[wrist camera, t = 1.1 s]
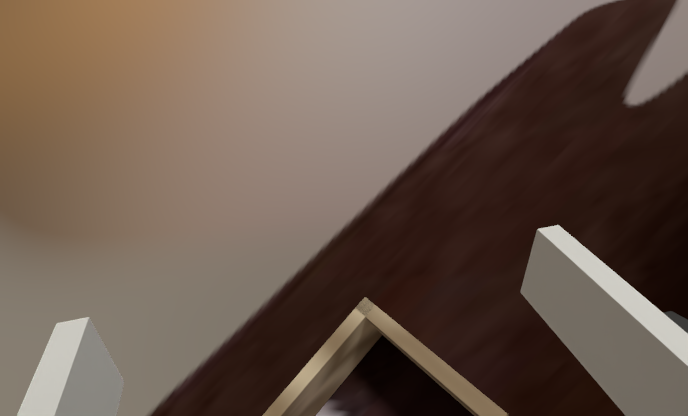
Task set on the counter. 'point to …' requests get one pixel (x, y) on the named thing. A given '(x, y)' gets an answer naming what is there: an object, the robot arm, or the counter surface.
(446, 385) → the wooden frame
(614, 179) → the counter surface
